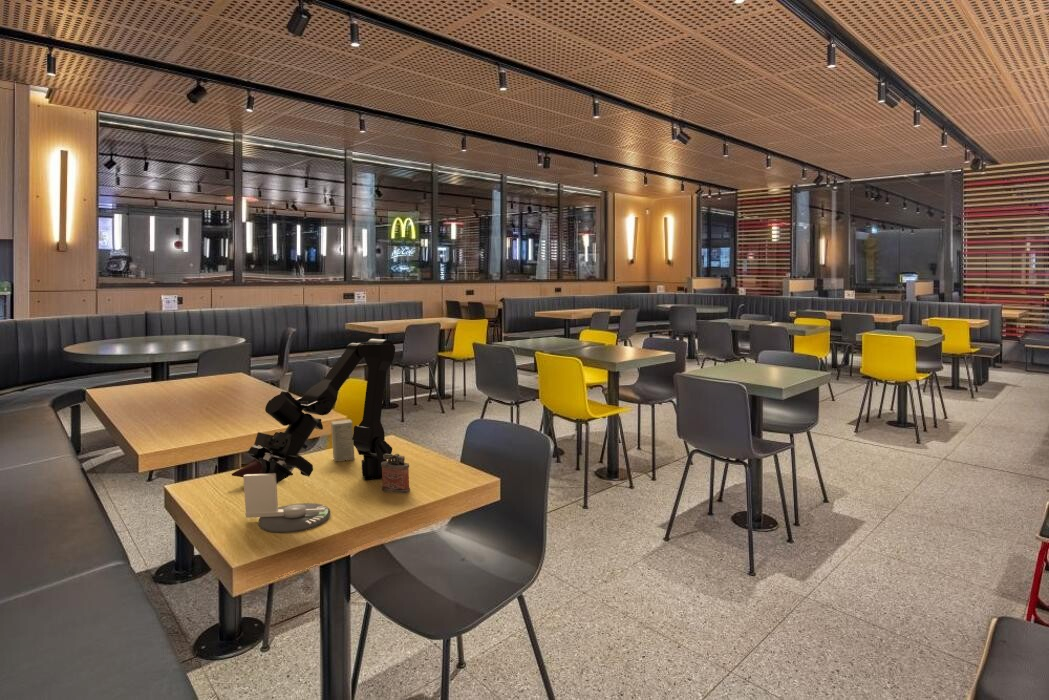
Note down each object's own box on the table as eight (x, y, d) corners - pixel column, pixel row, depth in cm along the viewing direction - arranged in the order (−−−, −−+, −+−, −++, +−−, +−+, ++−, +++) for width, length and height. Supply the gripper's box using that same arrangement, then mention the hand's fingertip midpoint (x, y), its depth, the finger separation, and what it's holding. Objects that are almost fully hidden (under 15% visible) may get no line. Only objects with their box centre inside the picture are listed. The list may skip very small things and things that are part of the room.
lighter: (412, 490, 166) (411, 453, 164) (406, 494, 163) (404, 457, 161) (386, 486, 168) (385, 451, 167) (379, 491, 165) (378, 454, 164)
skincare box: (352, 456, 197) (351, 418, 195) (354, 459, 193) (353, 421, 191) (332, 458, 194) (330, 420, 193) (334, 462, 190) (332, 424, 189)
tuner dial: (329, 502, 157) (329, 498, 157) (331, 527, 142) (331, 522, 142) (261, 511, 152) (261, 506, 152) (255, 537, 137) (255, 532, 137)
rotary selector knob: (327, 508, 150) (325, 468, 148) (322, 516, 145) (320, 475, 144) (250, 512, 148) (247, 471, 147) (243, 520, 143) (240, 478, 142)
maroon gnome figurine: (239, 468, 165) (291, 460, 176) (227, 456, 169) (279, 449, 181) (236, 492, 166) (288, 482, 178) (224, 479, 171) (275, 470, 182)
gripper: (251, 413, 153) (212, 469, 146) (299, 423, 143) (260, 483, 136) (281, 436, 161) (245, 490, 153) (328, 447, 151) (293, 505, 143)
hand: (260, 492), depth 146 cm, fingers closed
